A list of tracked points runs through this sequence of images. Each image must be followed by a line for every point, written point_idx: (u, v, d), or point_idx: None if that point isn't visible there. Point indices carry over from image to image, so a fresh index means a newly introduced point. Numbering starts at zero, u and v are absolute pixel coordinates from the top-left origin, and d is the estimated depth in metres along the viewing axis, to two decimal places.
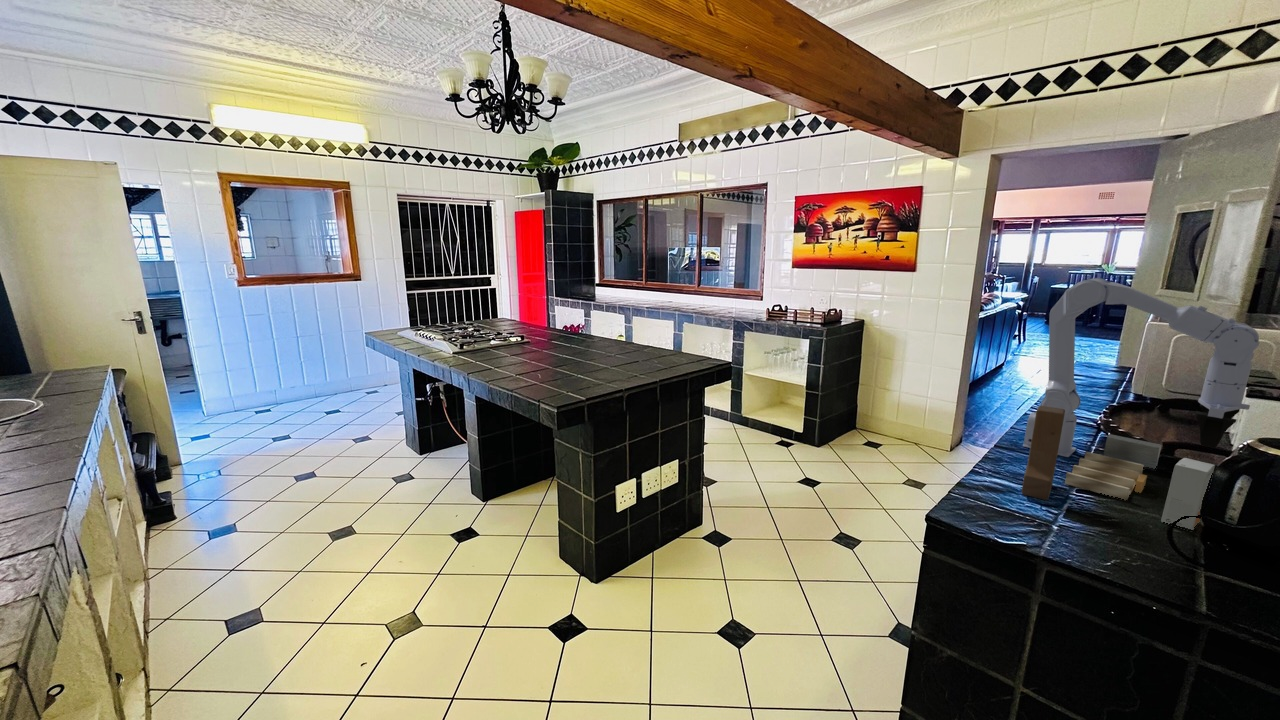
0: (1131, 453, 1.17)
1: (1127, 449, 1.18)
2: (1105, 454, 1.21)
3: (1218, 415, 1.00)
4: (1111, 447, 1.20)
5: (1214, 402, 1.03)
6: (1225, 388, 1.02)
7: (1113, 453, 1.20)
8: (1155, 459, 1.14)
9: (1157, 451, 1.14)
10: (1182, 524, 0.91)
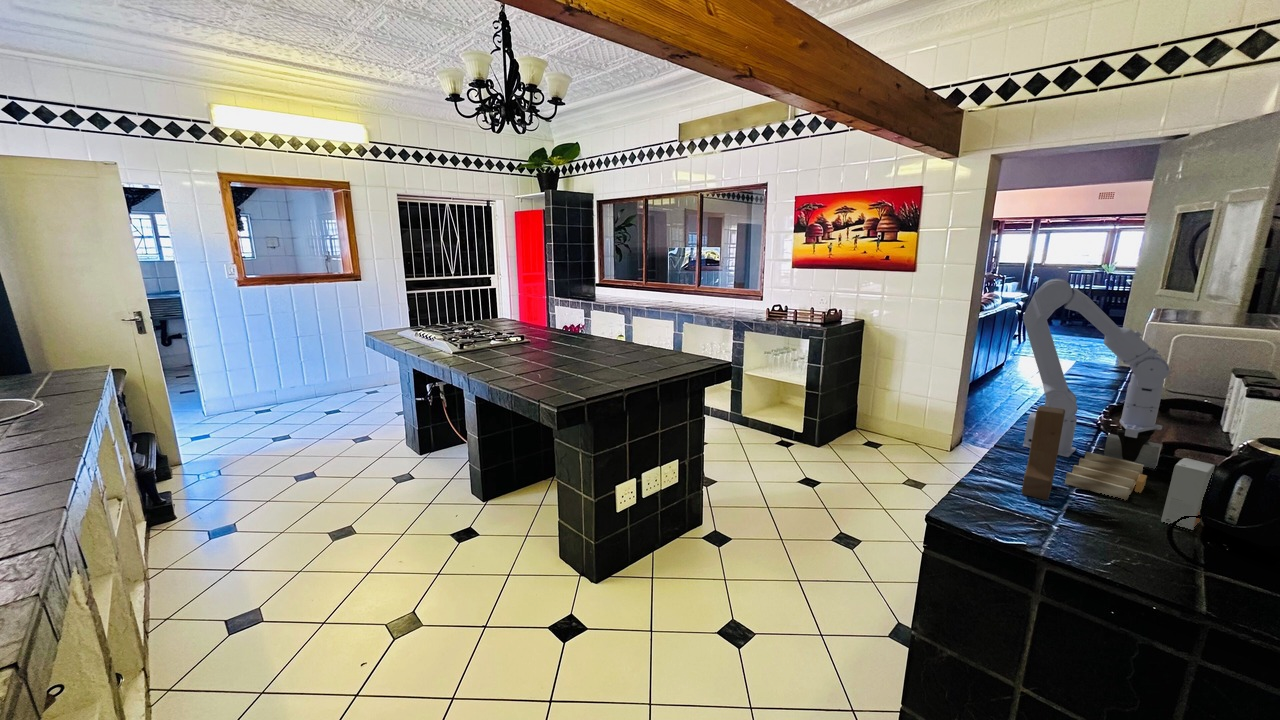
0: None
1: None
2: (1105, 454, 1.21)
3: (1133, 435, 1.12)
4: (1111, 447, 1.20)
5: (1131, 423, 1.15)
6: (1140, 411, 1.14)
7: (1114, 452, 1.20)
8: (1155, 459, 1.14)
9: (1157, 451, 1.14)
10: (1182, 524, 0.91)
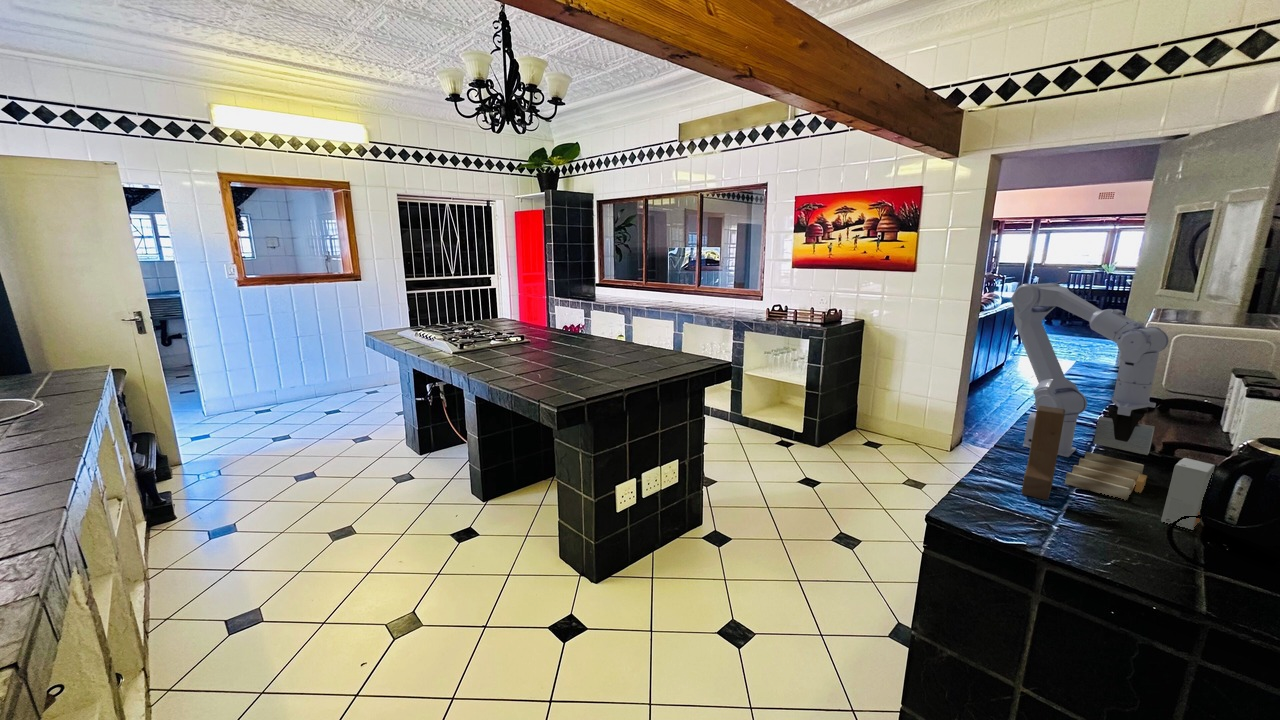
0: None
1: None
2: (1096, 437, 1.15)
3: (1126, 413, 1.06)
4: (1102, 430, 1.14)
5: (1124, 401, 1.09)
6: (1133, 388, 1.08)
7: (1105, 436, 1.14)
8: (1148, 441, 1.08)
9: (1150, 433, 1.08)
10: (1182, 524, 0.91)
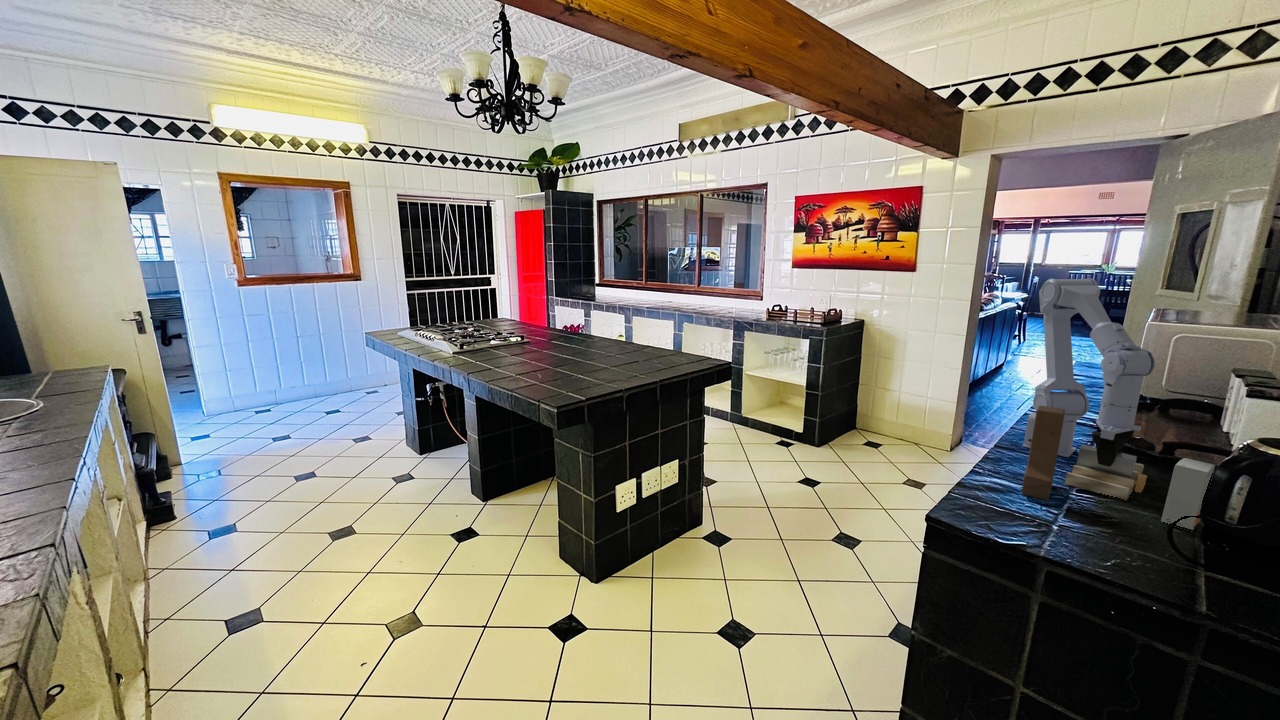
0: None
1: None
2: None
3: (1109, 437, 1.04)
4: (1084, 458, 1.12)
5: (1108, 423, 1.07)
6: (1117, 411, 1.06)
7: (1086, 464, 1.12)
8: (1130, 472, 1.06)
9: (1132, 463, 1.06)
10: (1182, 524, 0.91)
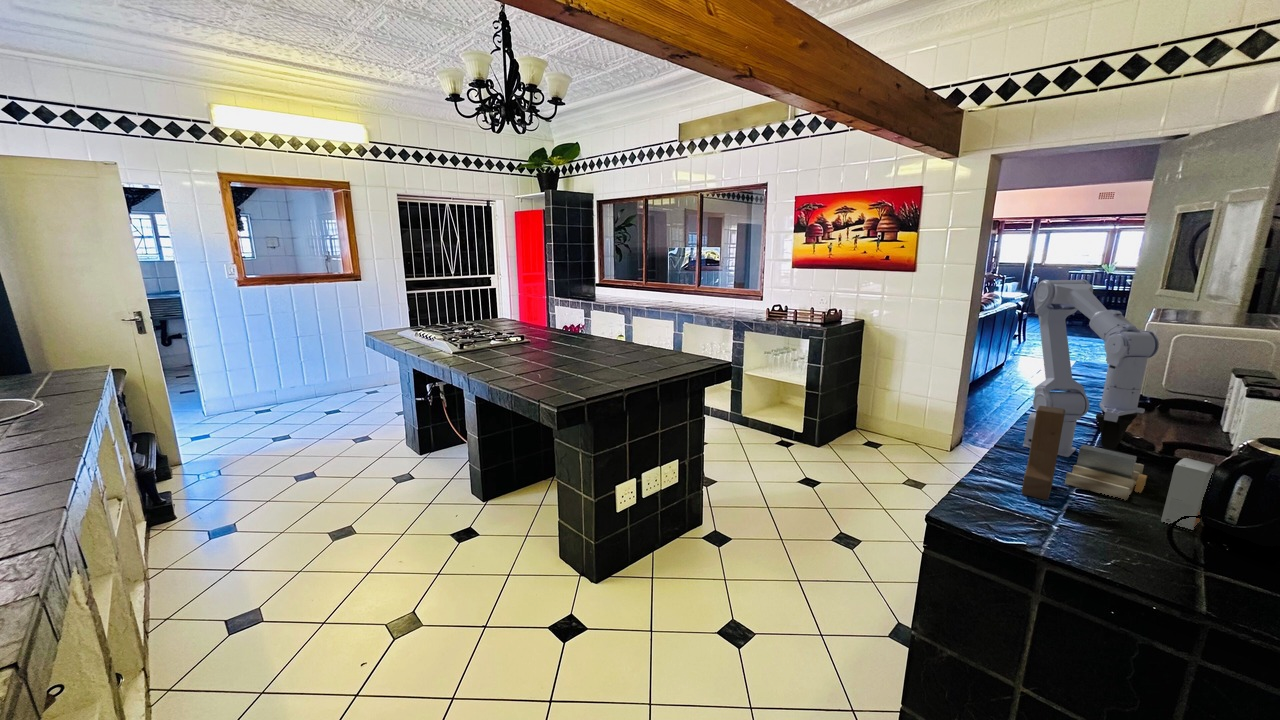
0: (1105, 465, 1.09)
1: (1100, 461, 1.10)
2: None
3: (1112, 419, 1.03)
4: (1084, 458, 1.12)
5: (1112, 406, 1.06)
6: (1121, 393, 1.05)
7: (1086, 464, 1.12)
8: (1130, 472, 1.06)
9: (1132, 463, 1.06)
10: (1182, 524, 0.91)
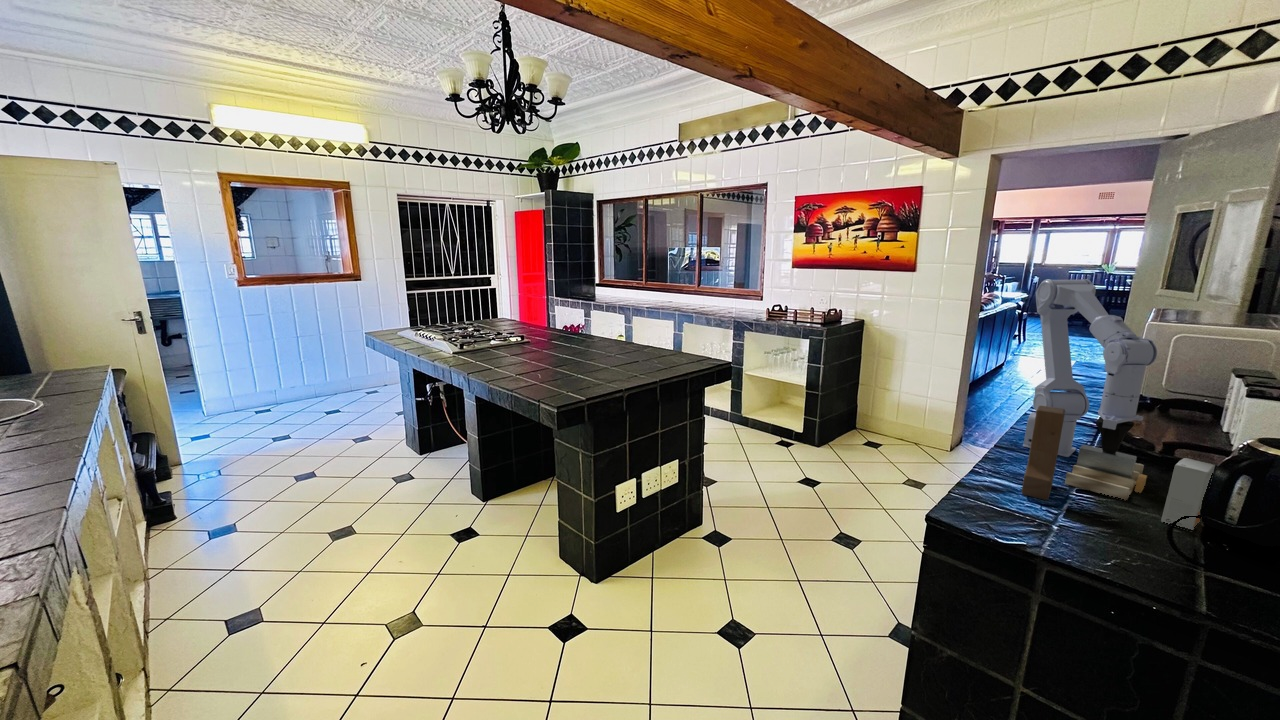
0: (1105, 465, 1.09)
1: (1100, 461, 1.10)
2: None
3: (1111, 426, 1.03)
4: (1084, 458, 1.12)
5: (1110, 413, 1.06)
6: (1119, 400, 1.05)
7: (1086, 464, 1.12)
8: (1130, 472, 1.06)
9: (1132, 463, 1.06)
10: (1182, 524, 0.91)
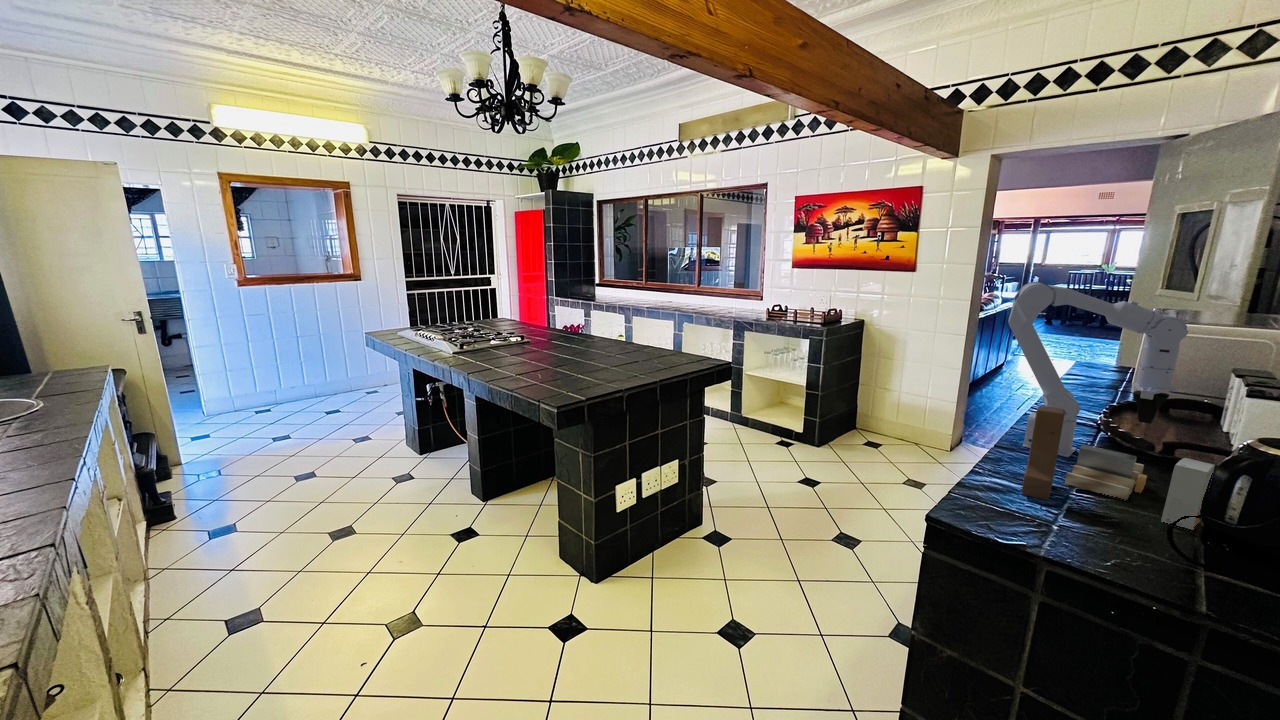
0: (1105, 465, 1.09)
1: (1100, 461, 1.10)
2: None
3: (1148, 397, 1.11)
4: (1084, 458, 1.12)
5: (1147, 385, 1.14)
6: (1156, 373, 1.13)
7: (1086, 464, 1.12)
8: (1130, 472, 1.06)
9: (1132, 463, 1.06)
10: (1182, 524, 0.91)
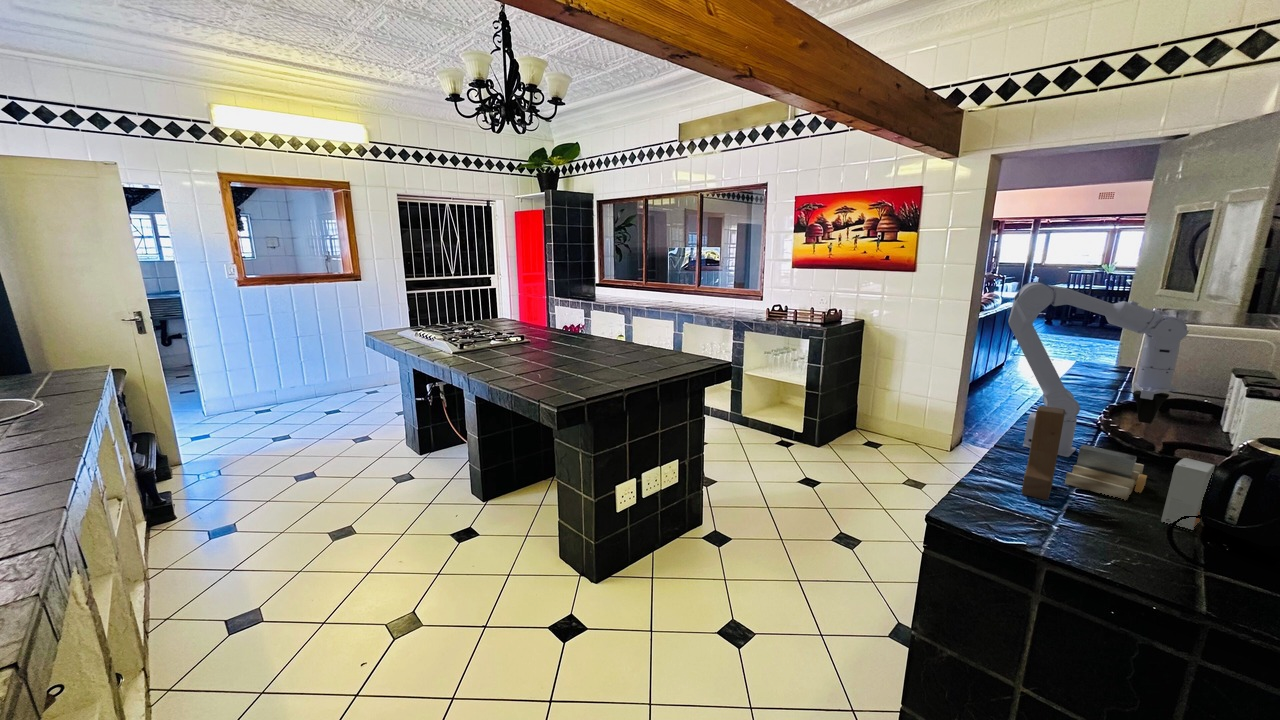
0: (1105, 465, 1.09)
1: (1100, 461, 1.10)
2: None
3: (1148, 397, 1.11)
4: (1084, 458, 1.12)
5: (1147, 385, 1.14)
6: (1156, 373, 1.13)
7: (1086, 464, 1.12)
8: (1130, 472, 1.06)
9: (1132, 463, 1.06)
10: (1182, 524, 0.91)
